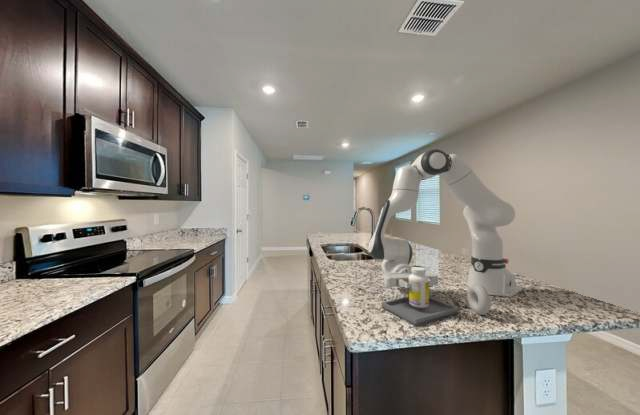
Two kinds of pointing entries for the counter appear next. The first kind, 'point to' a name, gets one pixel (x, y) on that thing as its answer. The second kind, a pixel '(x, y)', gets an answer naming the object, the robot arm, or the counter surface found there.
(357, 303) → the counter surface
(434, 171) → the robot arm
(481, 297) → the donut
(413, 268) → the supplement bottle
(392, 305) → the drying tray
